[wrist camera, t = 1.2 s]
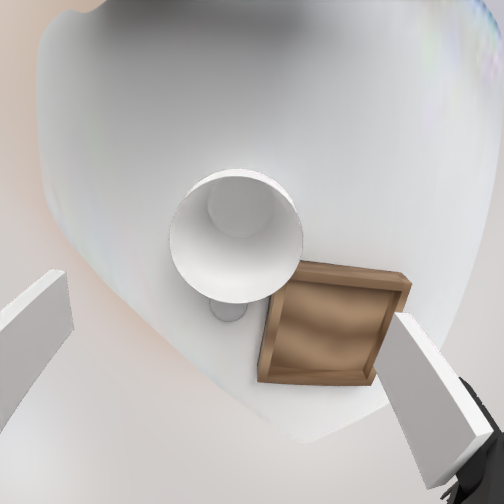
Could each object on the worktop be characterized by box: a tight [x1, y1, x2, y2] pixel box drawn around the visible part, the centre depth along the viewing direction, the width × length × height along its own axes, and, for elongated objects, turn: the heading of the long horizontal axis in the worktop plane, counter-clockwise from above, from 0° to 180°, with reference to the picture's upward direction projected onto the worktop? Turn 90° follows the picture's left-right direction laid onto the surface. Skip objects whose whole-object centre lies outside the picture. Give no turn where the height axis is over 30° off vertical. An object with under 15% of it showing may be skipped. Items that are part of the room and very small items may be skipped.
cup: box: [169, 169, 303, 303], centre depth 26 cm, size 9×9×12 cm
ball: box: [210, 298, 248, 322], centre depth 33 cm, size 4×4×4 cm
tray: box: [257, 260, 412, 386], centre depth 35 cm, size 15×15×3 cm
